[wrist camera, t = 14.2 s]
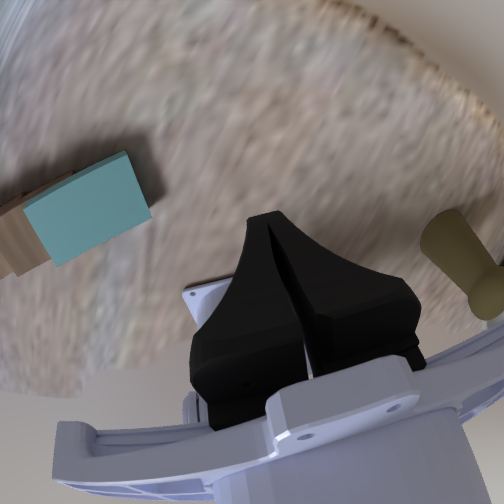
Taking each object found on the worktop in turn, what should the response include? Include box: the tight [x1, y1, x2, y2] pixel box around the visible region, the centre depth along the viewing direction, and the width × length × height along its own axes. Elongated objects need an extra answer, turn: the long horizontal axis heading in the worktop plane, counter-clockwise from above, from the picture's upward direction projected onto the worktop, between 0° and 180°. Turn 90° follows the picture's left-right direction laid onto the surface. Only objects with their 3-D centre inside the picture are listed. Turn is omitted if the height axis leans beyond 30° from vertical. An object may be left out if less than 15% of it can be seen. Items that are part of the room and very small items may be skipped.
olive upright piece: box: [420, 210, 504, 321], centre depth 25 cm, size 6×6×11 cm
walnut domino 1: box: [0, 192, 26, 279], centre depth 20 cm, size 2×5×8 cm
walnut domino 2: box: [0, 170, 74, 277], centre depth 20 cm, size 2×5×8 cm
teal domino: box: [23, 150, 152, 267], centre depth 19 cm, size 2×5×8 cm
